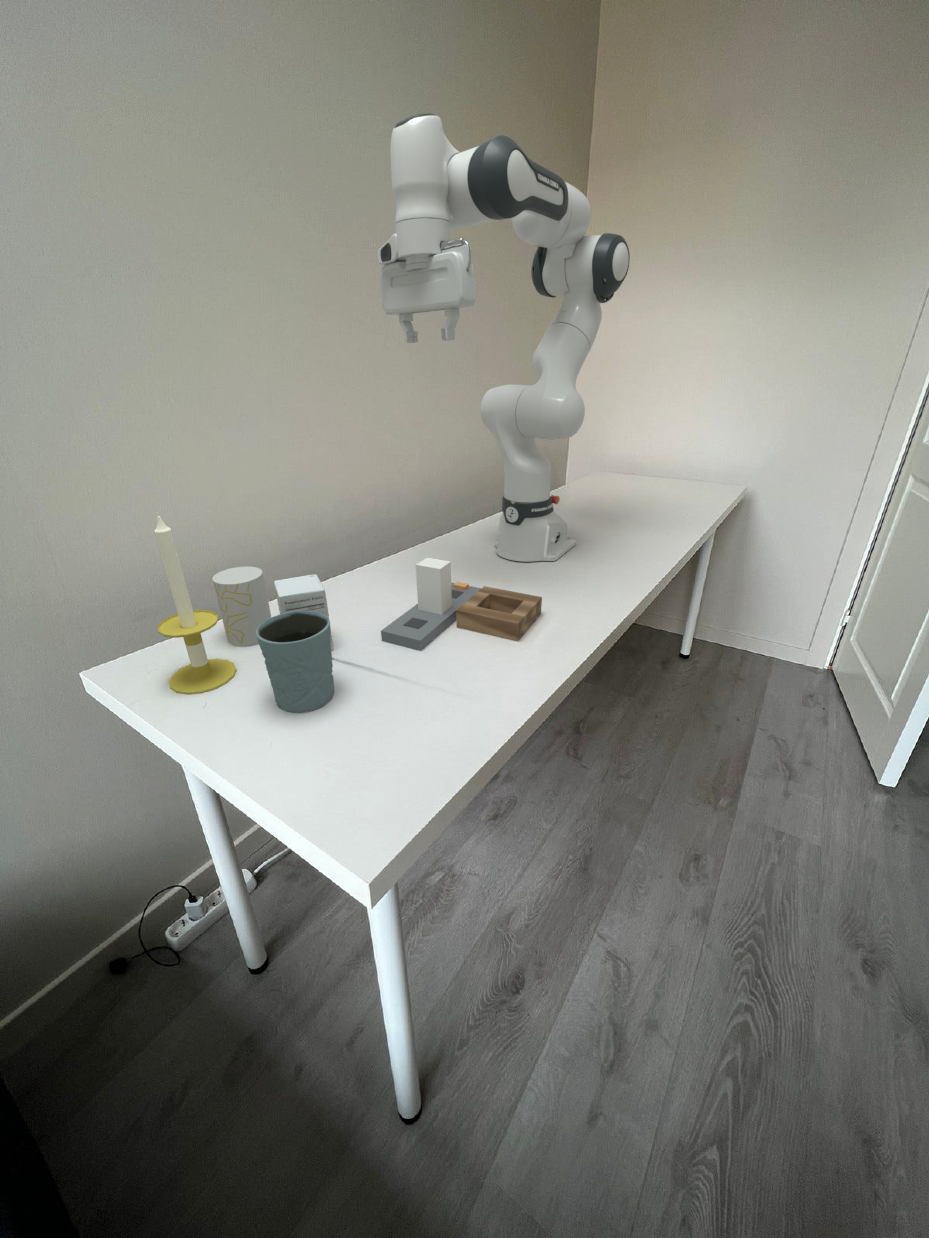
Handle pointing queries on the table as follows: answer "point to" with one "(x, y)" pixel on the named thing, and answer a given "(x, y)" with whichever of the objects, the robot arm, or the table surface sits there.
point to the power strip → (426, 621)
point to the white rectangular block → (434, 585)
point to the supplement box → (302, 596)
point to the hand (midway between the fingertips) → (429, 341)
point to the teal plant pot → (298, 659)
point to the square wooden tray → (499, 613)
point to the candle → (189, 627)
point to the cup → (242, 603)
